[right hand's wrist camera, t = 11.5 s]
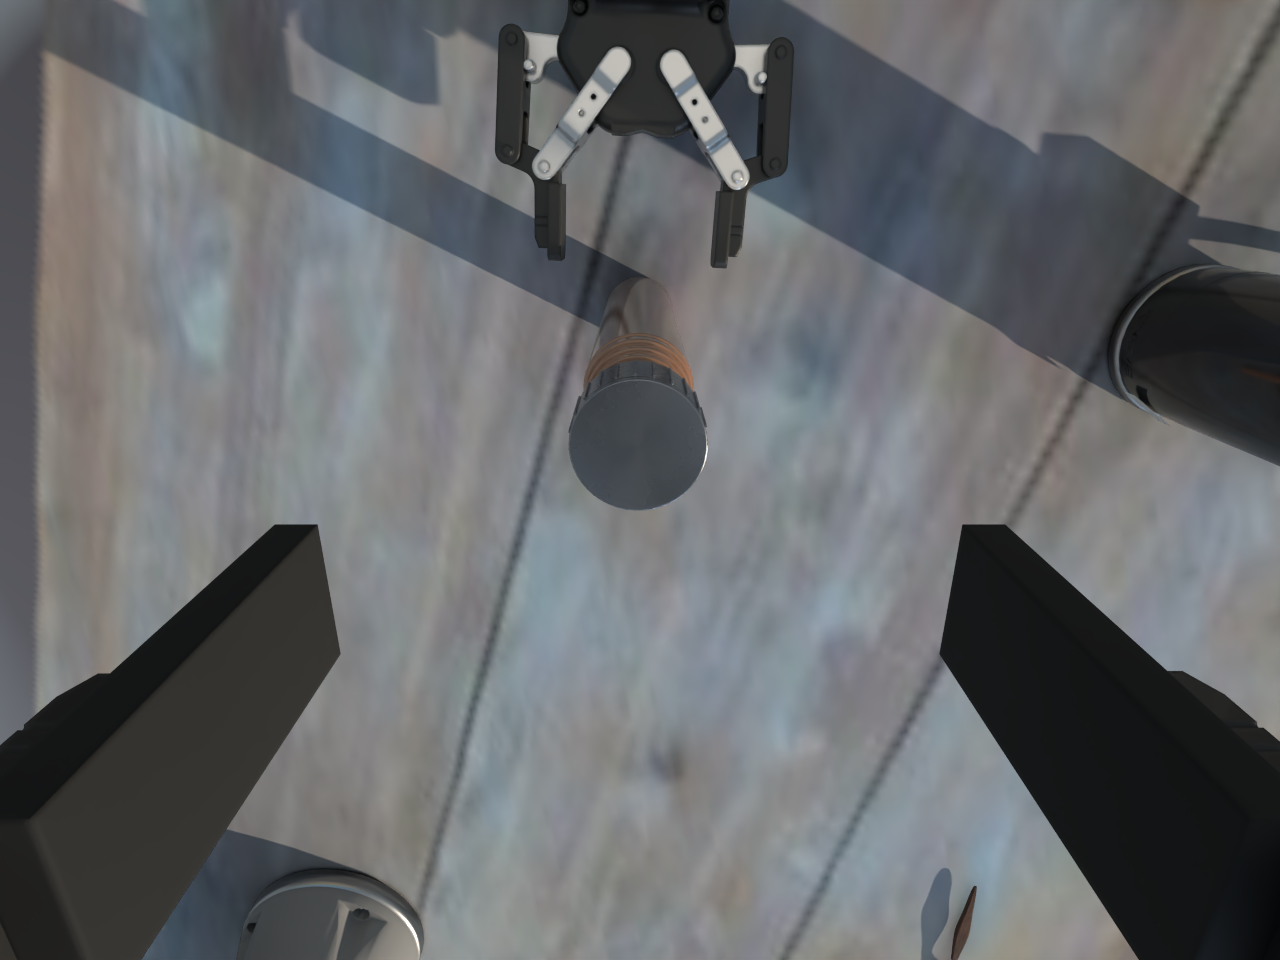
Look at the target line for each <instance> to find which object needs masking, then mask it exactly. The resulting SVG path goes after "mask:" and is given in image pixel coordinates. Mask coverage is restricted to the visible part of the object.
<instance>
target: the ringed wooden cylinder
mask: <svg viewBox="0 0 1280 960" xmlns="http://www.w3.org/2000/svg"><path fill="white" fill-rule="evenodd" d="M636 359H637V361H648V362H652V361H655V363H657V364H660V365H663V366H665V367H667V368H669V367H670V368H672V370H673V371H674V372H675V373H677V374H678V375H679V376H681V377H682V378H685V379H686V382H687V384H688V385H689V386H690V388H691V389H692V391H693V377H692V373H691V369H690V366H689V362H688V359H687V355H686V352H685V349H684V345H683V342H682V338H681V335H680V331H679V328H678V325H677V321H676V318H675V314H674V311H673V307H672V304H671V301H670V298H669V296H668V294H667V292H666V291H665V289H664V288H663V287H662V286H661V285H660V284H659V283H657V282H656V281H654V280H652V279H649V278H645V277H633V278H629V279H626V280H624V281H622V282H621V283H619V284H618V285H617V286H616V287H615V288H614V289H613V291H612V292H611V294H610V295H609V298H608V300H607V304H606V307H605V310H604V313H603V317H602V320H601V323H600V327H599V330H598V333H597V336H596V340H595V343H594V346H593V349H592V353H591V356H590V359H589V363H588V366H587V369H586V373H585V377H584V390H585V388H586V386H587V383H588V382H591V381H592V380H593V379H594V378H595V377H596V376H597V375H598V374H600V371H601V370H603V371H604V370H606V369H607V368H609V367H612V366H614V365H616V363H618V362H619V364H620V363H623V362H628V361H634V360H636Z"/></svg>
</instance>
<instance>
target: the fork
mask: <svg viewBox="0 0 1280 960" xmlns="http://www.w3.org/2000/svg"><path fill="white" fill-rule="evenodd" d="M976 889H977V887H976V886H974V887H973V889H972V891H971V893H970V895H969V898H968V900H967V903H966V905H965V908H964V910H963V912H962V915H961V917H960V919H959V921H958V923H957V926H956V929H955V932H954V938H953V946H952V954H951V960H957V959H958V957H959V955H960V953H961V951H962V949H963V947H964V945H965V943H966V941H967V939H968V936H969V932H970V927H971V920H972V914H973V908H974V903H975V897H976Z"/></svg>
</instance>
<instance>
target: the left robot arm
mask: <svg viewBox="0 0 1280 960" xmlns="http://www.w3.org/2000/svg"><path fill="white" fill-rule="evenodd" d="M728 12H729V0H568V14H567V18H566V22H565V25H564V27H563V29H562V31H561V33H560V35H559V36H558V35H550V34H542V33H534V32H526V31H523V30H522V29H521V28H520V27H519V26H517V25H515V24H507V25H505V26H504V27H503V28H502V29H501V31H500V33H499V48H498V78H497V108H496V138H495V153H496V156H497V158H498V159H499V160H500V161H501V162H502V163H504V164H508V165H510V166H512V167H515V168H517V169H519V170H521V171H524V172H526V173H527V174H528V175H529V176H530V177H531V178H532V180H533V182H534V187H535V239H536V242H537V244H538V247H539V248H548V260H557V261H562V260H563V259H564V258H565V235H566V184H562V172H563V171H564V170H565V168H566V167H567V166H568V164H569V163H570V161H571V160H572V159H573V157H574V156H575V155H576V153H577V152H578V151H579V149H580V148H581V147H582V146H583V145H584V144H585V143H586V141H587V140H588V139H589V137H590V136H591V135H592V133H593V132H594V131H595V129H596V128H597V127H598V125H599V126H600V127H601V128H602V129H603V130H605V131H607V132H609V133H611V134H612V135H617V136H630V135H634V134H638V133H647V134H649V135H652V136H655V137H658V138H674V137H675V136H679V135H681V134H683V133H685V132H686V131H687V130H689V132H690V133H691V135H692V137H693V138H694V140H695V142H696V143H697V145H698V147H699V148H700V150H701V151H702V153H703V154H704V155H705V157H706V158H707V160H708V162H709V163H710V165H711V167H712V168H713V170H714V172H715V173H716V175H717V177H718V178H719V180H720V182H721V188H720V191H716V198H715V211H714V223H713V236H712V248H711V266H712V267H713V268H726V267H727V261H728V257H737V255H738V253H739V251H740V249H741V247H742V238H743V226H744V216H745V206H746V197H747V193H748V191H749V190H750V188H751V187H752V186H754V185H755V184H757V183H760V182H763V181H766V180H769V179H772V178H775V177H779V176H781V175H782V174H783V173H784V172H785V171H786V169H787V165H788V148H789V130H790V112H791V94H792V76H793V59H794V48H793V45H792V43H791V42H790V41H789V40H788V39H787V38H783V37H780V38H777V39H775V40H774V41H773V42H772V43H771V44H766V45H734V42H733V40H732V38H731V35H730V31H729V25H728ZM557 60H558V61H559V62H560V64H561V66H562V68H563V69H564V71H565V73H566V74H567V76H568V77H569V79H570V81H571V82H572V84H573V86H574V87H575V89H576V91H577V92H578V96H577V97H576V98H575V100H574V101H573V103H572V104H571V105H570V107H569V108H568V110H567V111H566V112H565V114H564V115H563V116H562V118H561V119H560V121H559V122H558V124H557V126H556V128H555V130H554V132H553V133H552V134H551V136H550V137H549V139H548V140H547V141H546V143H545V144H544V146H543V147H542V148H541V150H538V149H535V148H533V147H531V146H529V145H528V132H529V111H530V91H531V84H537V83H539V82H541V81H542V80H543V78H544V76H545V72H546V68H547V67H548V65H549V64H550V63H551V62H553V61H557ZM732 70H737V71H739V72H740V73H741V74H742V75H743V76H744V79H745V85H746V89H747V91H748V92H749V93H750V94H752V95H754V96H759V108H758V132H757V156H756V157H753V158H750V159H747V160H744V161H743V160H742V158H741V157H740V155H739V153H738V151H737V150H736V148H735V146H734V145H733V143H732V141H731V139H730V137H729V135H728V132H727V130H726V128H725V127H724V125H723V123H722V121H721V120H720V118H719V116H718V115H717V113H716V111H715V109H714V108H713V106H712V104H711V103H710V101H711V99H712V98H713V97H714V95H715V94H716V93H717V91H718V90H719V89H720V87H721V86H722V85H723V83H724V82H725V81H726V79H727V78H728V76H729V75H730V74H731V72H732ZM1108 364H1109V371H1110V375H1111V378H1112V381H1113V383H1114V385H1115V387H1116V389H1117V390H1118V392H1119V393H1120V394H1121V396H1122V397H1123V398H1124V399H1125V400H1127V401H1128V402H1129V403H1130V404H1132V405H1134V406H1135V407H1137V408H1140V409H1142V410H1144V411H1146V412H1149V413H1150V414H1151V415H1152V416H1154V417H1155V418H1156V419H1157V420H1158V421H1160V422H1162V423H1165V424H1167V425H1169V424H1168V423H1166V422H1165V421H1164V420H1163V419H1162V418H1160V417H1159V416H1162V417H1165V418H1167V419H1170V420H1172V421H1174V422H1177V423H1179V424H1181V425H1183V426H1185V427H1188V428H1190V429H1192V430H1195V431H1197V432H1200V433H1202V434H1204V435H1207V436H1209V437H1211V438H1214V439H1216V440H1219V441H1221V442H1223V443H1226V444H1228V445H1230V446H1233V447H1235V448H1238V449H1240V450H1242V451H1245V452H1247V453H1250V454H1252V455H1254V456H1257V457H1259V458H1261V459H1264V460H1266V461H1269V462H1271V463H1273V464H1276V465H1278V466H1280V275H1278V274H1270V273H1264V272H1256V271H1248V270H1241V269H1238V268H1234V267H1230V266H1222V265H1214V264H1198V265H1191V266H1186V267H1183V268H1179V269H1177V270H1174V271H1171V272H1169V273H1167V274H1165V275H1163V276H1161V277H1160V278H1158V279H1156V280H1155V281H1153V282H1152V283H1150V284H1149V285H1148V286H1147V287H1145V288H1144V289H1143V290H1142V291H1141V292H1140V293H1139V294H1138V295H1137V296H1136V297H1135V298H1134V299H1133V300H1132V301H1131V302H1130V303H1129V305H1128V306H1127V307H1126V309H1125V310H1124V312H1123V313H1122V315H1121V316H1120V318H1119V320H1118V322H1117V324H1116V326H1115V329H1114V331H1113V334H1112V337H1111V341H1110V345H1109V352H1108ZM1169 426H1170V425H1169Z"/></svg>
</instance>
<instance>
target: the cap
mask: <svg viewBox="0 0 1280 960" xmlns="http://www.w3.org/2000/svg"><path fill="white" fill-rule="evenodd" d="M705 427H707V424H706V421H705V418H704V414H703V411H702V407H700V405H699V402H698V398H697V395H696V392H695V391H694V392H693V391H692V389H691V388H690V386H689V385H688V384H687V382H686V379H685V378H682V377H681V376H679V375H678V374H677V373H675V372H674V371H673V370H672V368H670V367H669V368H667V367H665V366H663V365H660V364H657V363H655V361H652V362H648V361H637V359H636V360H634V361H628V362H623V363H620V364H619V362H618V363H616V365H614V366H612V367H609V368H607V369H606V370H604V371H603V370H601V371H600V374H598V375H597V376H596V377H595V378H594V379H593V380H592V381H591V382H588V383H587V386H586V388H585V390H584V392H583V394H582V395H581V397H580V396H579V397H578V400H577V404H576V407H575V410H574V414H573V418H572V421H571V424H570V428H569V432H568V433H570V435H569V454H570V459H571V462H572V465H573V468H574V471H575V473H576V475H577V476H578V478H579V479H580V481H581V482H582V484H583V485H584V486H585V487H586V488H587V490H589V491H590V492H591V493H592V494H593V495H594V496H596V497H597V498H599V499H600V500H602V501H604V502H606V503H607V504H610V505H612V506H615V507H618V508H622V509H627V510H649V509H654V508H658V507H662V506H664V505H667V504H669V503H671V502H673V501H675V500H676V499H678V498H679V497H681V496H682V495H683V494H685V493H686V492H687V491H688V490H689V489H690V488H691V487H692V485H693V484H694V483H695V482H696V480H697V479H698V477H699V475H700V473H701V471H702V469H703V467H704V464H705V460H706V455H707V445H708V440H707V433H706V429H705Z"/></svg>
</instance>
